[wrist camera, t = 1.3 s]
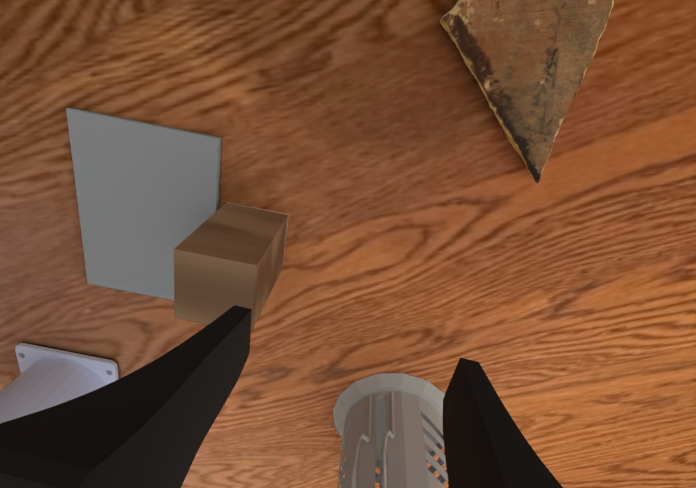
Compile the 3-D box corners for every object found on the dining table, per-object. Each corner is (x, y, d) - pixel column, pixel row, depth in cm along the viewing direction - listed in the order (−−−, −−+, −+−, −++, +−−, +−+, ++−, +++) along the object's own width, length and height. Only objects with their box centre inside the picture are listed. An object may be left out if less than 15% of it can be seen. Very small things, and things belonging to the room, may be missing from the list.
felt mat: (214, 304, 28) (212, 307, 28) (91, 280, 28) (87, 283, 28) (221, 137, 23) (218, 138, 23) (71, 107, 23) (65, 108, 23)
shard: (529, 176, 23) (540, 185, 21) (403, 147, 23) (405, 154, 21) (621, -42, 18) (644, -52, 17) (465, -79, 18) (473, -93, 17)
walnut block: (281, 268, 26) (251, 332, 20) (223, 257, 26) (174, 317, 20) (288, 214, 25) (257, 265, 18) (226, 202, 25) (173, 249, 18)
